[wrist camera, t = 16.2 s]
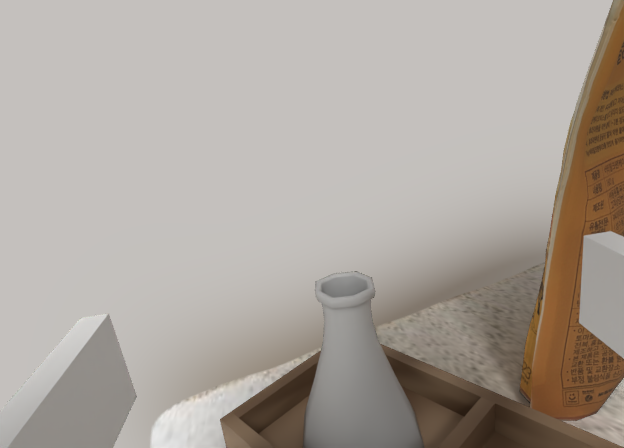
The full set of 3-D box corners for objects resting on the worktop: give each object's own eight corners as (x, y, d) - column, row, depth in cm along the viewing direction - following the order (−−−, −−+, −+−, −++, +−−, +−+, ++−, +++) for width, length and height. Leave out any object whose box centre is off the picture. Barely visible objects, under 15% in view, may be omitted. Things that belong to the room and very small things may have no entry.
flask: (388, 381, 30) (376, 247, 27) (449, 460, 23) (443, 295, 20) (287, 414, 28) (263, 274, 25) (323, 510, 22) (296, 337, 18)
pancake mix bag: (694, 328, 34) (763, -81, 26) (597, 477, 24) (660, -141, 15) (598, 302, 39) (629, -45, 31) (483, 414, 29) (481, -72, 20)
